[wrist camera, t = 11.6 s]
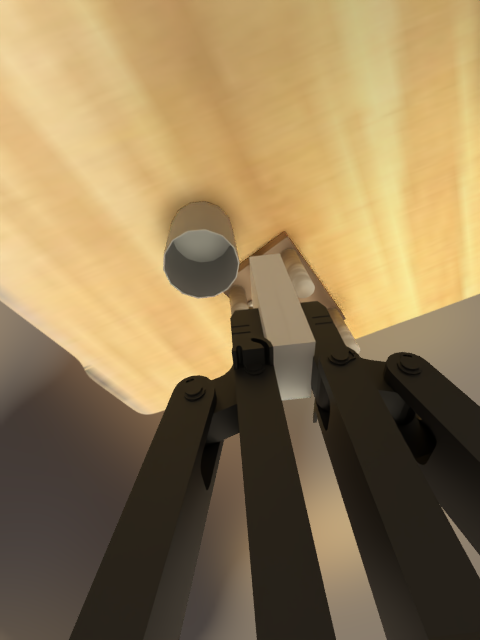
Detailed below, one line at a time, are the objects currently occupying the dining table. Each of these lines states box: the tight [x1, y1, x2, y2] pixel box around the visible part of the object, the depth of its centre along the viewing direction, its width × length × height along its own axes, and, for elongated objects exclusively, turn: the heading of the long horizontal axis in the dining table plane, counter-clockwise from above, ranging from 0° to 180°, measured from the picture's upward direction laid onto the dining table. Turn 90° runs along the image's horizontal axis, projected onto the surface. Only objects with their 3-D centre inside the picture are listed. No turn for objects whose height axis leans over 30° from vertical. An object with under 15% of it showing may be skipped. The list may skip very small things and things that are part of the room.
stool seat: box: [224, 231, 360, 354], centre depth 46 cm, size 12×18×11 cm
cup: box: [163, 202, 239, 298], centre depth 39 cm, size 8×8×10 cm
